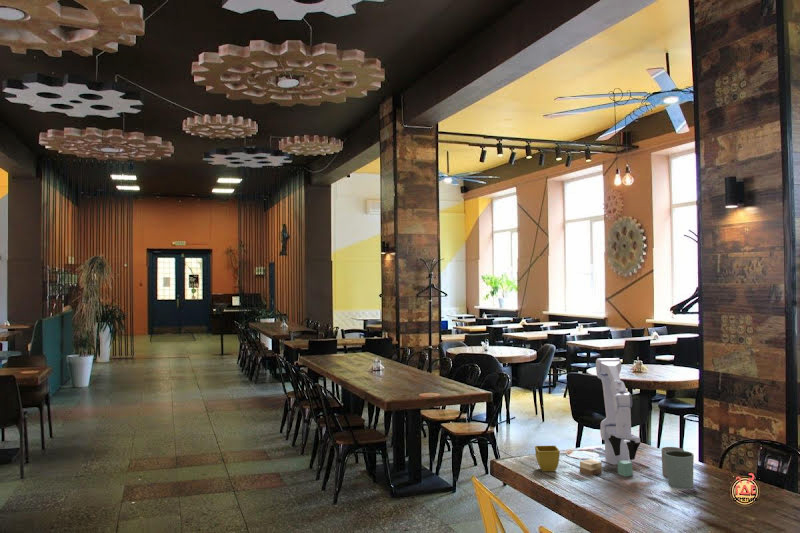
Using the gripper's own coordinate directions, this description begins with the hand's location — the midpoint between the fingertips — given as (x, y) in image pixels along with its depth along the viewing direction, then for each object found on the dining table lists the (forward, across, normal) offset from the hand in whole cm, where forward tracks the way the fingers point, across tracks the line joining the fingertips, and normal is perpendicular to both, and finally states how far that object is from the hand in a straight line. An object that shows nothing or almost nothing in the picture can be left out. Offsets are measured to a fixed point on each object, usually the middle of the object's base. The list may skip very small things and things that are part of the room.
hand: (624, 457), depth 264 cm
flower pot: (+7, -22, -21) cm, 31 cm away
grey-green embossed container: (+7, +21, +6) cm, 23 cm away
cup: (+7, +11, +15) cm, 20 cm away
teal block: (+7, 0, 0) cm, 7 cm away
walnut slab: (+7, -10, -9) cm, 15 cm away
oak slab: (+5, -10, -9) cm, 14 cm away
